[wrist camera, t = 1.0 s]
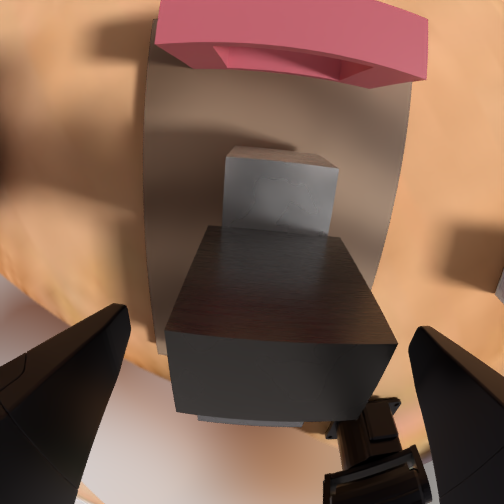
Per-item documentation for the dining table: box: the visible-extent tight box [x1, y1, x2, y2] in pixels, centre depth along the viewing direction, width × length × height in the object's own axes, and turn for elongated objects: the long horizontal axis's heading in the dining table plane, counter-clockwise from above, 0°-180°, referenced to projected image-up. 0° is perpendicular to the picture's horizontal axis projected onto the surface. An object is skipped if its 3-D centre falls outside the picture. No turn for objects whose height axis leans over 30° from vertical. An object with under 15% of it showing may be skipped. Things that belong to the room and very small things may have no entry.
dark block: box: [164, 146, 398, 422], centre depth 12 cm, size 14×5×10 cm, turn 175°
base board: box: [143, 19, 412, 355], centre depth 17 cm, size 22×14×1 cm, turn 175°
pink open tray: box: [155, 0, 428, 89], centre depth 10 cm, size 2×9×6 cm, turn 85°
